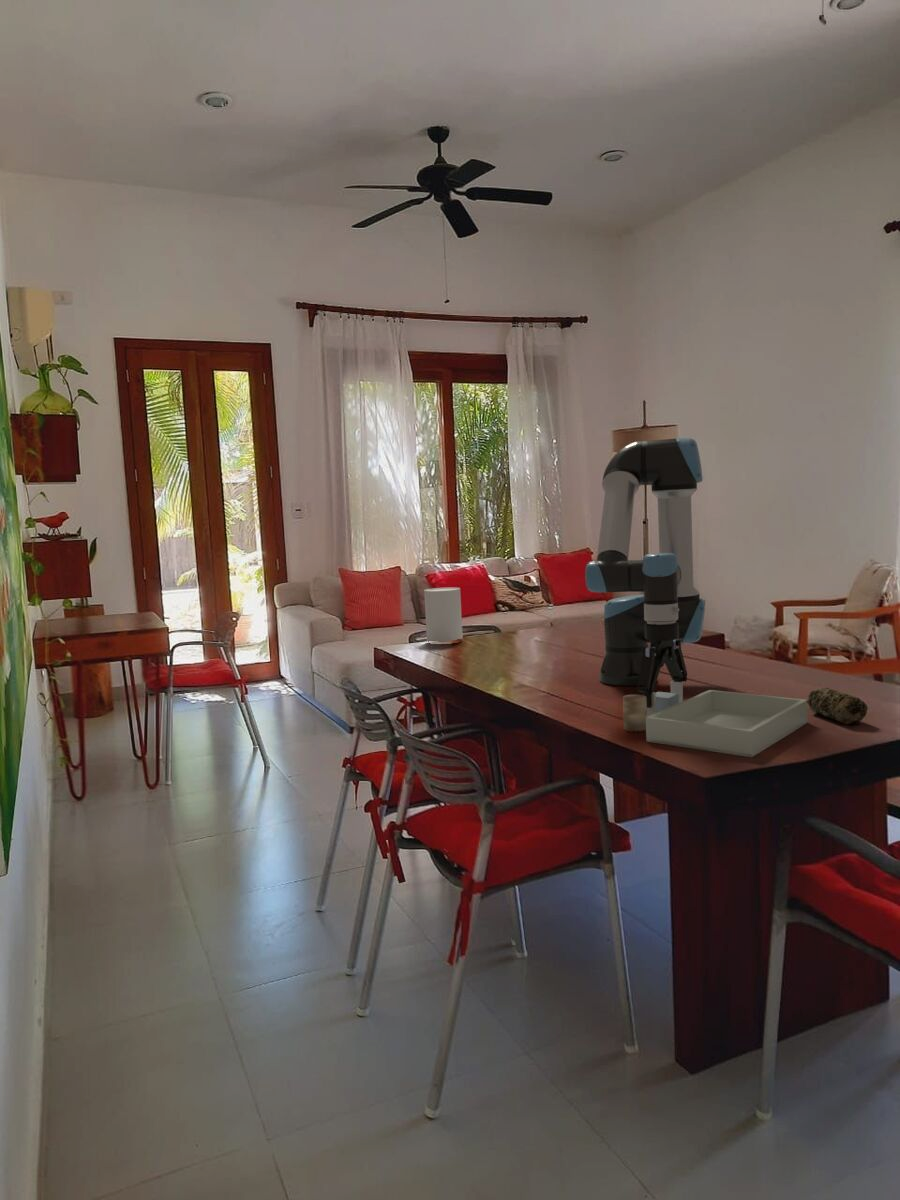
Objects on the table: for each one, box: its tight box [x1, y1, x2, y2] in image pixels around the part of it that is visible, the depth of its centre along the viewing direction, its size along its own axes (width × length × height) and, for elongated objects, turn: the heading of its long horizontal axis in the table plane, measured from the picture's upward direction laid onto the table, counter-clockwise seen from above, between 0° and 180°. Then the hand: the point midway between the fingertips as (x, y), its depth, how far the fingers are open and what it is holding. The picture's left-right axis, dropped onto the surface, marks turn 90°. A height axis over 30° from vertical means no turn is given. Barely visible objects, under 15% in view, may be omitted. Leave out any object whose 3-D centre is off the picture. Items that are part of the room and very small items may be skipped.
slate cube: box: [655, 691, 679, 713], centre depth 197 cm, size 5×5×5 cm
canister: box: [423, 587, 463, 642], centre depth 325 cm, size 14×14×20 cm
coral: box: [806, 687, 869, 725], centre depth 187 cm, size 14×6×6 cm, turn 10°
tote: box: [645, 689, 809, 758], centre depth 181 cm, size 22×30×5 cm
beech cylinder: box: [622, 694, 647, 733], centre depth 188 cm, size 5×5×7 cm
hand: (663, 715), depth 198 cm, fingers open, 12 cm apart
